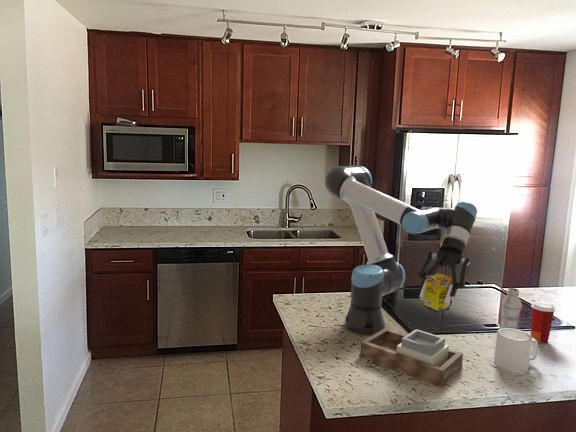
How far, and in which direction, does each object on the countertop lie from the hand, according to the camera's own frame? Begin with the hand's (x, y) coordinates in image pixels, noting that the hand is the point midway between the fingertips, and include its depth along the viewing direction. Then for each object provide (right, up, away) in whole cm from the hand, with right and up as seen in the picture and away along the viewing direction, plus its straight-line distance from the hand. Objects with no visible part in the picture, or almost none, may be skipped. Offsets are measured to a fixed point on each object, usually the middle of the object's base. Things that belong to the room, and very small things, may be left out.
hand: (433, 301), depth 149 cm
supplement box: (+2, -3, +3) cm, 5 cm away
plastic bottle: (+33, -19, +20) cm, 43 cm away
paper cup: (+46, -19, +22) cm, 54 cm away
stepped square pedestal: (-4, -20, 0) cm, 20 cm away
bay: (-7, -20, +3) cm, 22 cm away
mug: (+27, -22, +3) cm, 35 cm away
